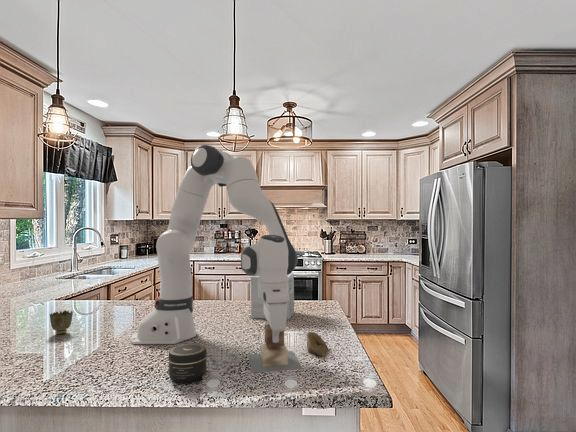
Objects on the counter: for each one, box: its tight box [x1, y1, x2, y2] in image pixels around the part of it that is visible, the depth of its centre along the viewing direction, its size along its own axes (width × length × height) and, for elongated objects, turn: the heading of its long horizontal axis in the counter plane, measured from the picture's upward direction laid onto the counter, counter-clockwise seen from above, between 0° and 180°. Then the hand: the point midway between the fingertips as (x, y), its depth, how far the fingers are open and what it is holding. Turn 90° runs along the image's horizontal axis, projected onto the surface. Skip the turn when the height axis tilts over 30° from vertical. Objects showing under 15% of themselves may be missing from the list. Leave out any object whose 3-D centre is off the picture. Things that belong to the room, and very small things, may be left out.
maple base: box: [260, 343, 288, 367], centre depth 108 cm, size 7×7×4 cm
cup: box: [49, 309, 73, 336], centre depth 140 cm, size 8×7×8 cm
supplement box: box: [250, 272, 295, 320], centre depth 165 cm, size 17×13×18 cm
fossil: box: [306, 331, 329, 358], centre depth 116 cm, size 9×4×10 cm
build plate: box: [247, 350, 303, 374], centre depth 108 cm, size 14×14×1 cm
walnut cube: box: [264, 323, 285, 347], centre depth 109 cm, size 5×5×5 cm
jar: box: [167, 343, 208, 385], centre depth 100 cm, size 10×10×8 cm
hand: (273, 338), depth 109 cm, fingers closed on walnut cube, 5 cm apart
